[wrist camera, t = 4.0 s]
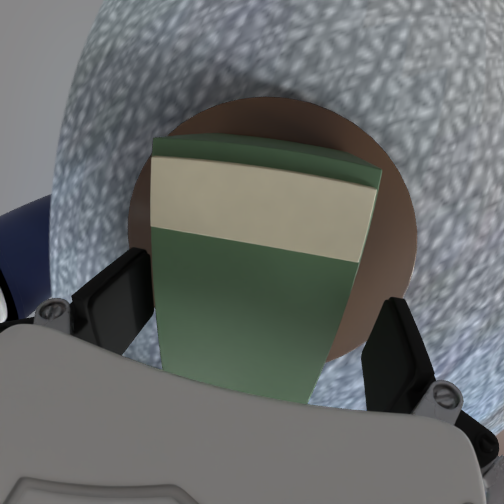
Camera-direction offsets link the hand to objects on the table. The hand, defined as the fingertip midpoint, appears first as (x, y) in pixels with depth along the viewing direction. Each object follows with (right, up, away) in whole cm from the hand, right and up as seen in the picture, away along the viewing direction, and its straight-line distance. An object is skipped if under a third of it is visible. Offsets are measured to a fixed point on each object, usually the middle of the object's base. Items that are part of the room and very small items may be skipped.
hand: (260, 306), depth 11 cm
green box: (0, +2, +4) cm, 4 cm away
